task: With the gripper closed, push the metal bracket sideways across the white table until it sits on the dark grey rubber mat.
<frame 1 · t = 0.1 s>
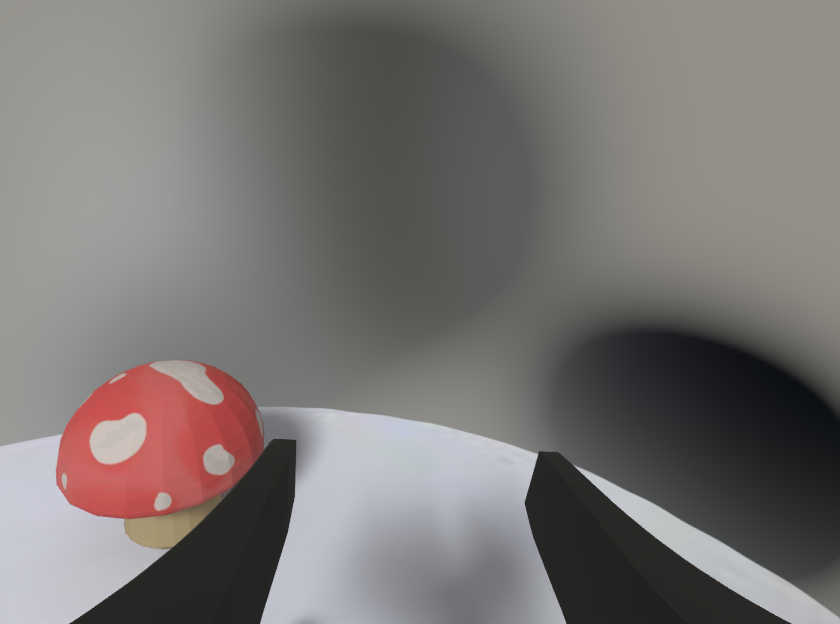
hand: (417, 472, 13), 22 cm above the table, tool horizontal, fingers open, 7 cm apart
decorative mushroom: (177, 537, 35), on the table
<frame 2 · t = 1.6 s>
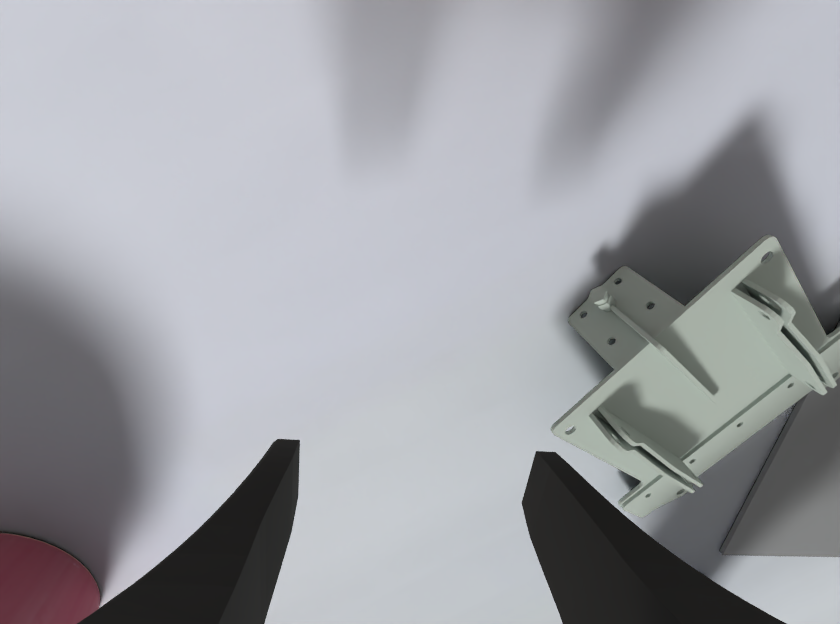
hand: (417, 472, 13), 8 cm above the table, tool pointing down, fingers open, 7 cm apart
plant pot: (18, 585, 24), on the table
metal bracket: (673, 365, 22), on the table, touching rubber mat
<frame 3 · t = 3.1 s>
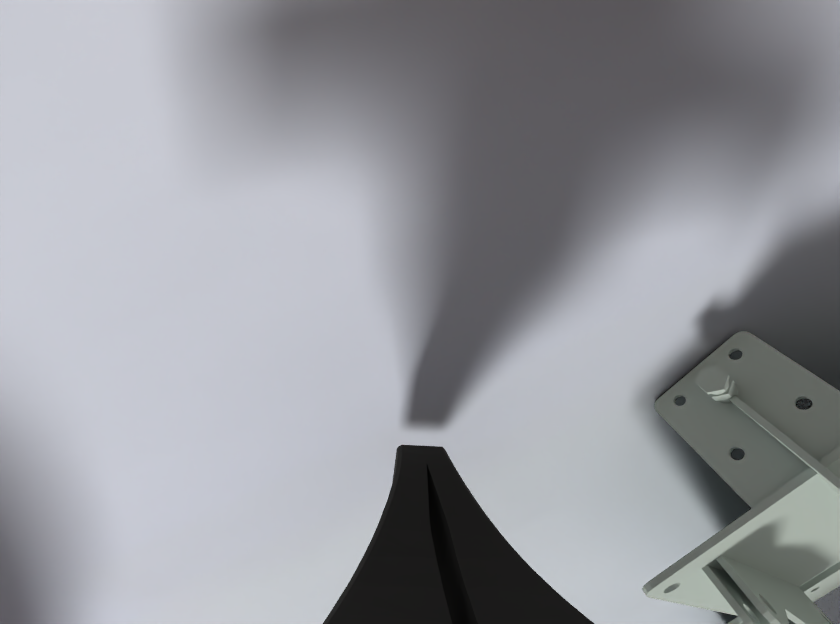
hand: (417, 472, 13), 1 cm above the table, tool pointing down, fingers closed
metal bracket: (793, 459, 16), on the table, touching rubber mat
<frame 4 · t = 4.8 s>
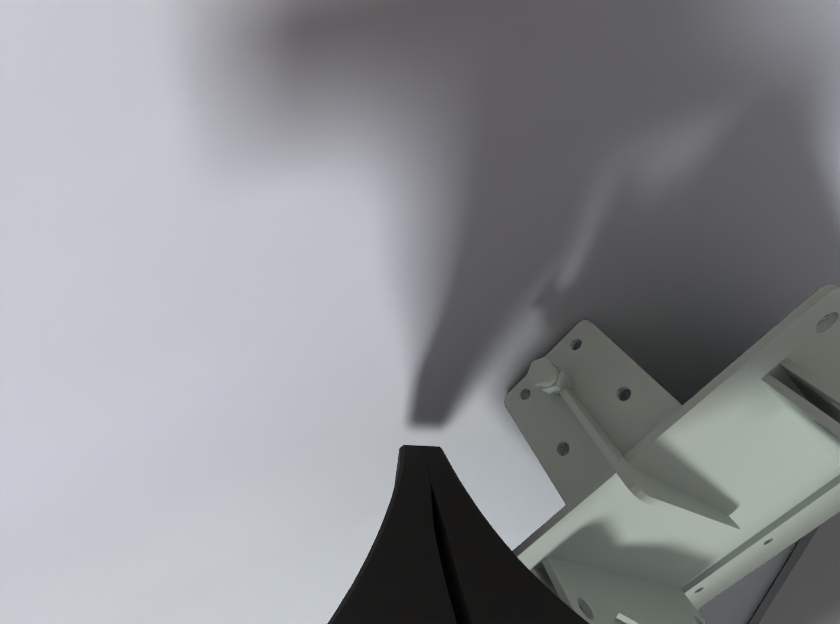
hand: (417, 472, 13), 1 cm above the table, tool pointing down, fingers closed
metal bracket: (668, 454, 15), on the table, touching gripper
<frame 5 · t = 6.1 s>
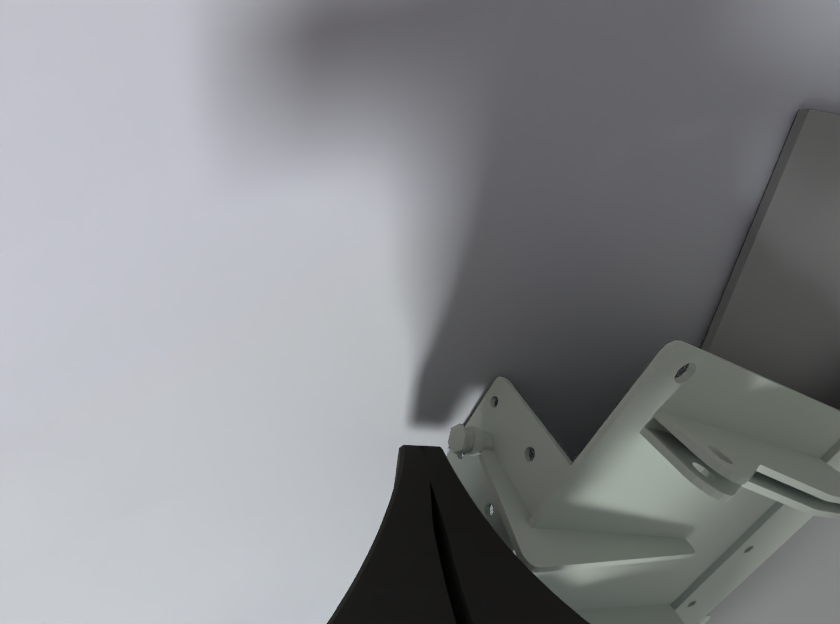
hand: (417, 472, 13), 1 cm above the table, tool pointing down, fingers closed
rubber mat: (807, 484, 16), on the table
metal bracket: (629, 477, 15), on the table, touching gripper, rubber mat
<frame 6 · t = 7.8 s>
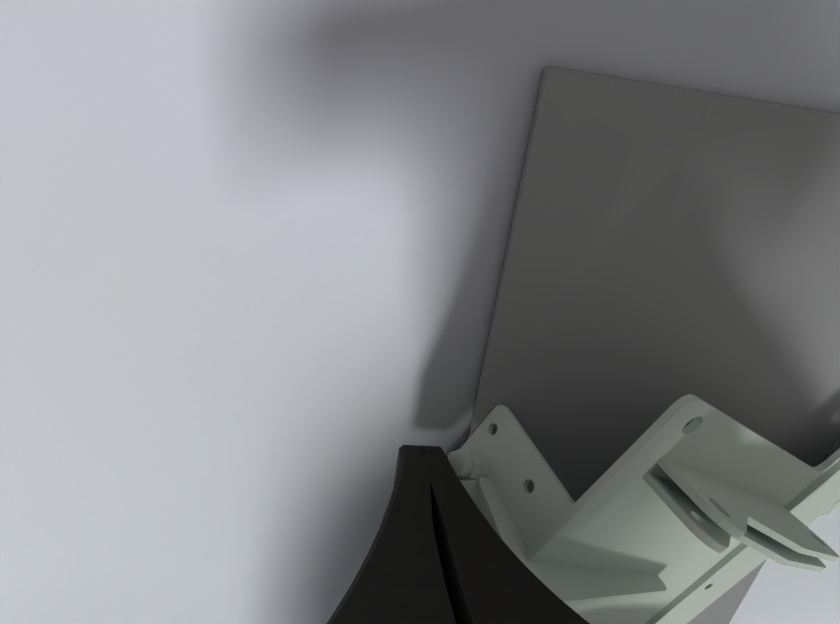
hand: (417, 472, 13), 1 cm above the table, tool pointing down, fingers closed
rubber mat: (639, 476, 15), on the table
metal bracket: (606, 510, 16), resting on rubber mat, touching gripper
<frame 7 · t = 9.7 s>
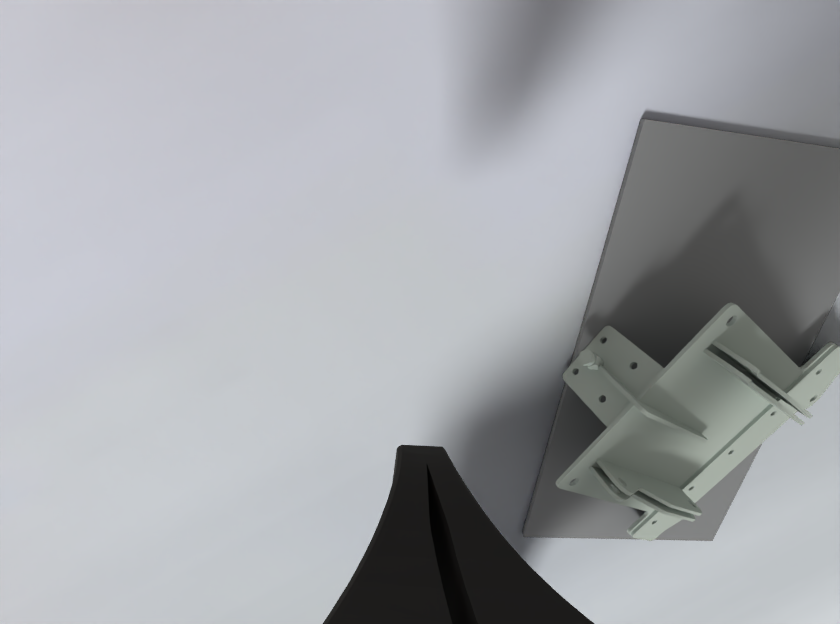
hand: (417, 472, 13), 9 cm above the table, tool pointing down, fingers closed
rubber mat: (682, 374, 24), on the table
metal bracket: (664, 403, 24), resting on rubber mat
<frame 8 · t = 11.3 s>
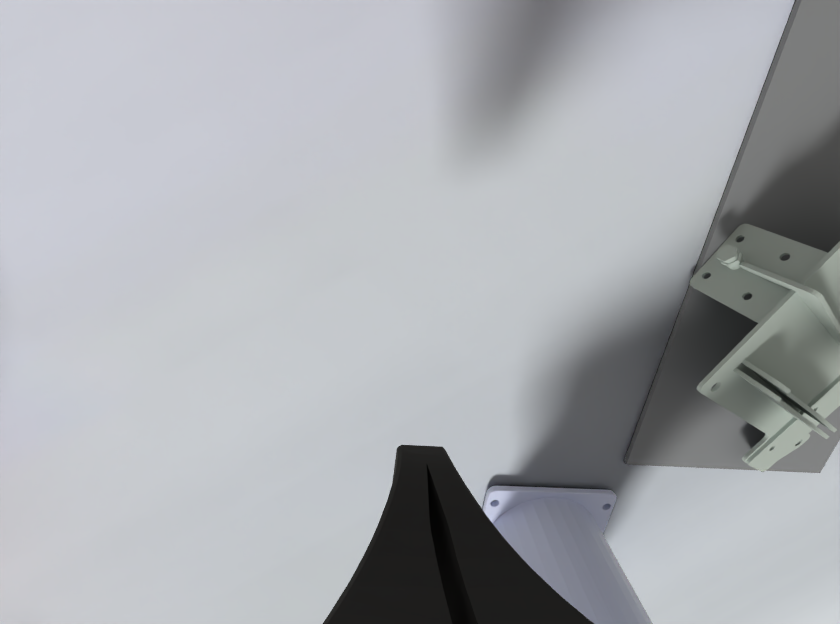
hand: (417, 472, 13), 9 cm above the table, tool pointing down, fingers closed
rubber mat: (811, 279, 22), on the table
metal bracket: (789, 317, 23), resting on rubber mat
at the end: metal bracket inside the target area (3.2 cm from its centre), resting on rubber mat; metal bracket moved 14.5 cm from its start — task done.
